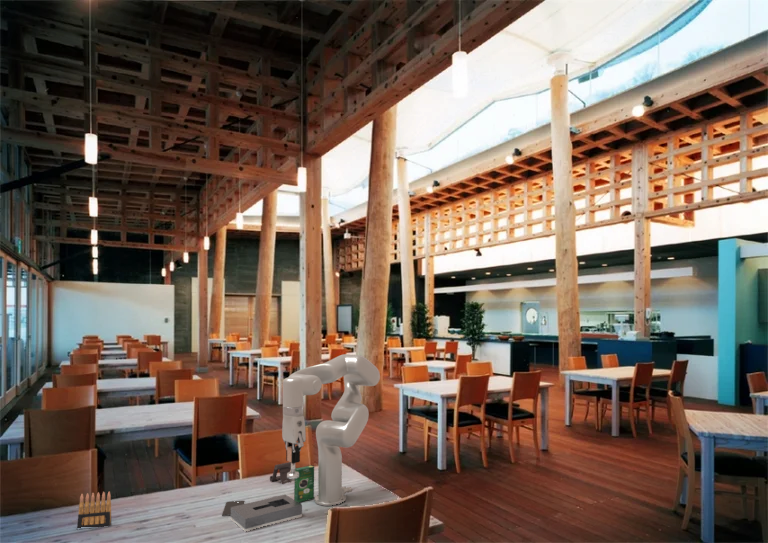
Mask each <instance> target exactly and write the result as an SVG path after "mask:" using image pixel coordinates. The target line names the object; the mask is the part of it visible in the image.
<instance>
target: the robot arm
mask: <svg viewBox="0 0 768 543" xmlns="http://www.w3.org/2000/svg"><path fill="white" fill-rule="evenodd" d="M341 378H343V383H344V384H343V385H344V392H343V393H342V396H341V397H340V399H339V400H338V401H337V403H336V404H335V406H334V407H333V409H332V410H331V411H332V412H331V419H332V420H330V419H329V420H328V419H327V420H323V421H321V422H320V423H318V425H317V426H316V429H315V439H316V442H317V452H318V455H317V456H318V459H317V460H318V464H317V465H318V466H317V467H318V468H317V469H318V472H317V473H318V479H317V480H318V486H317V487H318V489H317V490H318V491H317V493H318V495H315V496H314V499H313V500H314V503H315V504H316V505H319V506H323V507H324V506H325V507H328V506H329V507H330V506H331V507H333V506H337V505H336V504H338V505H340V504H339V503H341V504H343V503H344V501H345V502H346V501H347V500H346V499H347V496H346V494H347V493H352V492H353V488H352V486H349V487H346V486H343V476H342V474H343V472H342V471H343V470H342V469H343V467H342V466H343V461H342V460H343V457H342V456H343V455H342V451H341V448H351V447H353V446H354V445H355V444H356V442H357V441H358V440H359V437H360V436H361V434H362V432H363V431H364V429H365V428H366V425H367V424H368V421H369V416H370V415H369V409H368V407H367V406H366V405H365V404H364V403H362V399H363V397H362V393H361V390H360V388H359V386H362V387H374V386H377V385H378V383H379V382H380V379H381V374H380V370H379V369H378V367H377V366H375V364H373V363H372V362H371V361H370V360H369V359H368V358H366V357H365V356H363V355H361V354H345V353H344V354H341V355H338V356H336V357H333V358H332V359H330V360H328V361H325V362H324V363H320V364H315V365H313V366H312V365H311V366H307V367H305V368H302V369H299V370H297V371H295V372H293V373H291V374H290V375H289V376H288V377H286V378H284V379H283V380H282V425H281V427H282V428H281V433H282V434H281V437H282V440H283V443H284V444H285V449H286V450H285V453H286V454H285V455H286V457H285V459H286V462H288V461H287V447H289V446H292V448H293V452H292V463H295V464H297V463H300V462H301V451H302V448H303V447H304V446H305V444H304V443H306V441H307V440H306V439H307V437H306V435H307V434H306V421H305V416H304V396H313V395H316V394H318V393H319V392H320V391H321V389H322V385H326V384H331V383H332V384H333V383H334V382H336V381H337V380H339V379H341ZM295 446H296V447H295ZM342 502H343V503H342ZM332 505H333V506H332Z"/></svg>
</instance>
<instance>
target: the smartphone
mask: <svg viewBox="0 0 768 543" xmlns="http://www.w3.org/2000/svg"><path fill="white" fill-rule="evenodd" d="M234 501H235V502H234ZM237 502H239V503H237ZM244 502H245V503H246V501H245V500H232V501H230V500H229V501H226V502H225V506H224V508H223V510H222V514H221V517H231V507H234V506H238V505H243V504H244Z"/></svg>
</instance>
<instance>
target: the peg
mask: <svg viewBox="0 0 768 543" xmlns="http://www.w3.org/2000/svg"><path fill="white" fill-rule="evenodd" d="M296 446H297V445H295V447H296ZM292 452H293V448H292V446H289V447H287V461H286V462H291V469H290V472H288V473H287V478H288V479H291V480H295V479H296V478H299V472H295V468H296V463H292Z"/></svg>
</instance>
